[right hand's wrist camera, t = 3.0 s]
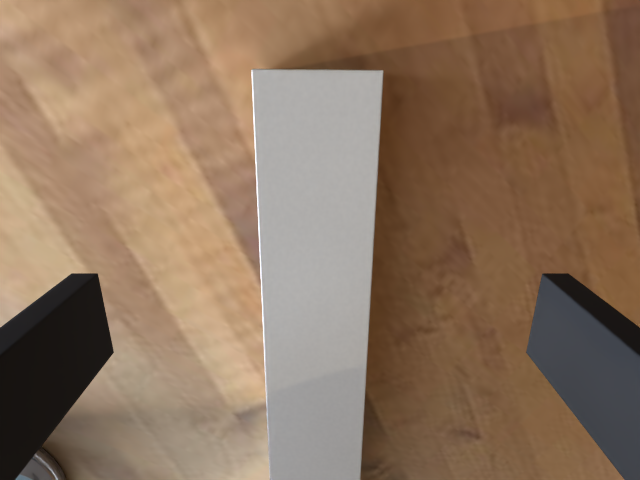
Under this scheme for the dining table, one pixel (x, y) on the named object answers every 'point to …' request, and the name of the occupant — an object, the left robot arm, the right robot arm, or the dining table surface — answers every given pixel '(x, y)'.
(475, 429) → the dining table surface
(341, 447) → the thick board
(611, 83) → the dining table surface
